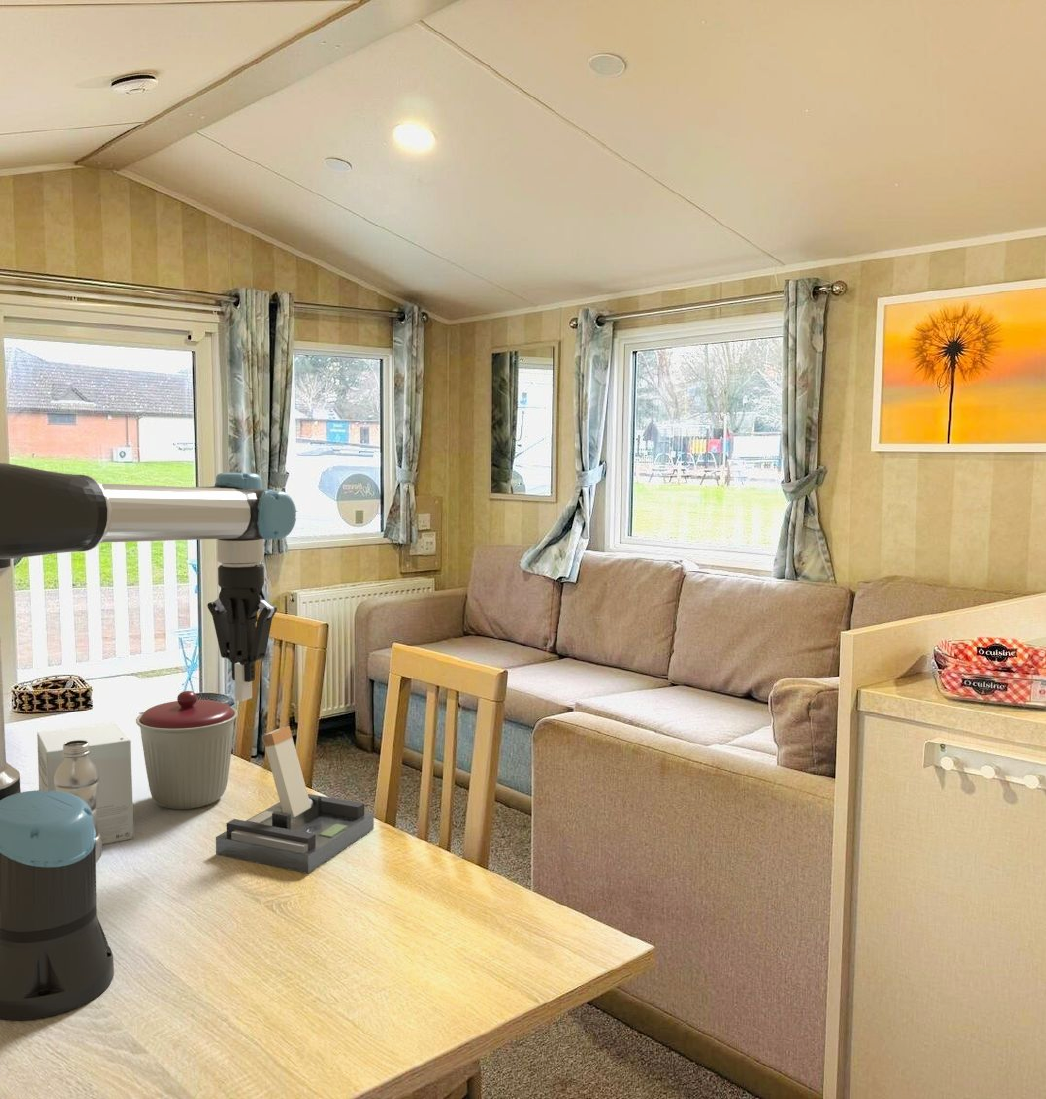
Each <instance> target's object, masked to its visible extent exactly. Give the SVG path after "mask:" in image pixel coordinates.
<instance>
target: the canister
mask: <svg viewBox="0 0 1046 1099" xmlns="http://www.w3.org/2000/svg"><path fill="white" fill-rule="evenodd" d="M238 715H239V714H238V711H237V709H235V708H234V707H232V706H230V705H228V704H227V703H225V702H222V701H217V700H211V699H210V700H209V699H198V696H197V694H196V693H195V692H194V691H192V690H185V691H181V692H180V693H179V694H178V695H177V699H176V700H175V701H169V702H164V703H160V704H158V705H154V706H152V707H150V708H148V709H147V710H145V711H144V712H142V713H141V714H139V715H138V716H137V717H136V718H135V723H136V725H137V726H138V727H139V728H140V729H139V730H140V737H141V743H142V751H143V757H144V758H143V759H144V766H145V771H146V775H147V777H146V778H147V781H148V788H149V792H150V795H151V797H152V799H153V800H154V802H155V803H156V804H157V805H159V806H161V807H162V808H166V809H172V810H187V809H190V810H191V809H197V808H201V807H206V806H208V805H211V804H213V803H215V802H217V801H218V800H220V799H221V798H222V797H223V795H224V794H225V792H226V790H227V787H228V782H229V774H230V764H231V757H232V745H233V735H234V724H235V719H236V718H237V717H238Z"/></svg>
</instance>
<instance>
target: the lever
mask: <svg viewBox="0 0 1046 1099" xmlns="http://www.w3.org/2000/svg"><path fill="white" fill-rule="evenodd" d="M261 738H262V741H263V746H264V748H265V752H266V755H267V759H268V763H269V766H270V770H271V774H272V777H273V781H274V784H275V785H274V786H275V788H276V791H277V796H278V798H279V802H280V804H281V807H282V811H283V812H284V813H289V814H291V819H292V818H294V817H296V816H298V815H299V814H301V813H303V812H304V811H306V810H308V809H310V808H311V807H313V801H312V800H311V799H309V797H308V794H309V793H308V789H307V787H306V783H305V779H304V776H303V771H302V768H301V764H300V761H299V760H300V759H299V757H298V752H297V750H296V746H295V742H294V738H293V734H292V730H291V726H290V725H287V726H283V727H279V728H277V729H274V730H272V731H269V732H267V733H265V734H263V735H261Z"/></svg>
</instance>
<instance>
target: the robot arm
mask: <svg viewBox="0 0 1046 1099" xmlns="http://www.w3.org/2000/svg"><path fill="white" fill-rule="evenodd" d="M262 484H263V483H262V478H261V477H260V475H259V474H258V473H254V472H221V473H218V474H217V475H216V476H215V484H214V485H213V486H173V485H171V486H170V485H169V486H166V485H146V484H145V485H142V484H141V485H140V484H122V483H121V484H120V483H119V484H118V483H100V482H99V481H97V480H96V479H95V478H94V477H93V476H92V477H91V476H89V475H85V474H71V473H63V472H57V471H56V472H55V471H51V470H50V471H49V470H44V469H38V468H33V467H29V466H23V465H18V464H12V463H7V462H6V463H4V462H3V463H2V462H1V463H0V579H1V578H2V577H3V576H4V575H5V574H6V573H8V571H9V570H11V567H12V566H11V564H12V562H11V560H12V559H13V560H14V559H20V558H21V559H22V558H28V557H36V556H38V557H39V556H45V555H52V554H53V555H54V554H63V553H71V552H89V551H92V550H93V549H95V548H97V546H99V545H100V543H126V542H127V543H130V542H132V543H133V542H134V543H135V542H163V541H164V542H165V541H168V542H169V541H191V540H192V541H194V540H196V541H197V540H198V541H199V540H200V541H201V540H217V541H216V542H217V545H216V547H217V548H216V549H217V557H216V558H217V562H218V563H220V565H219V566H218V567H217V583H218V587H220V592H219V594H218V598H216V599H215V600H214V601H210V602H208V603H207V605H206V606H207V609H208V611H209V613H210V614H211V616H212V619H213V625H214V629H215V630H214V631H215V634H216V635H215V636H216V638H217V643H218V649H219V653H220V656H221V658H223V659H226V660H227V659H228V660H229V662H230V664H231V678H232V681H234V695H235V696H234V697H235V698H234V700H235V701H236V702H242V703H243V702H245V701H248V700H250V699H252V698H253V681H255V679H256V666H255V665H256V662H257V661H260V660H262V659H265V657H266V653H267V647H268V642H269V636H270V631H271V628H272V622H273V618H274V616H275V614H276V613H277V611H278V607H277V606H276V605H275V604H274V605H271V604H269V603H268V602H267V601H266V600H265V598H266V597H265V594H264V592H263V587H264V584H265V567H264V565H263V564H262V563H261V562H263V561H264V540H265V541H270V540H282V539H284V538H286V537H287V536H289V535H290V534H291V532H292V531H293V529H294V527H295V524H296V520H297V518H296V516H297V508H296V505H295V502H294V499H293V498H292V496H290V495H289V494H288V493H286V492H285V491H281V490H274V489H268V488H267V489H263V486H262ZM1 639H2V638H0V1019H3V1020H11V1021H12V1020H13V1021H24V1020H25V1021H26V1020H27V1021H29V1020H35V1019H36V1020H37V1019H42V1018H47V1017H52V1016H56V1015H60V1014H63V1013H67V1012H68V1011H71V1010H74V1009H76V1008H78V1007H81V1006H83V1005H85V1004H86V1003H89V1002H90V1001H92V1000H93V999H96V998H97V997H99V996H100V995H101V994H103V992H104V991H105V990H106V989H107V988H108V987H109V986H110V984H111V983H112V981H113V980H114V975H115V970H114V968H115V967H114V964H115V963H114V962H115V961H114V955H113V951H112V949H111V947H110V946H109V943H108V941H107V940H108V939H107V938H106V935H105V932H104V930H103V927H102V925H101V923H100V921H99V919H98V910H97V909H98V908H97V862H96V843H95V842H96V830H95V828H94V821H93V814H92V811H91V808H90V807H89V805H88V804H87V803H86V802H85V801H84V800H83V799H81V798H80V797H78V796H75V795H73V794H70V793H66V792H62V791H54V790H53V791H50V792H44V790H39V789H38V790H35V789H34V790H28V791H21V774H20V771H19V770H18V769H16V768H15V767H13V766H12V765H11V764H9V763H8V762H7V754H6V750H7V749H6V731H5V730H6V729H5V709H4V708H5V707H4V705H5V704H4V690H3V689H4V685H3V683H4V682H3V665H2V662H3V661H2V643H1V641H2V640H1Z"/></svg>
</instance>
